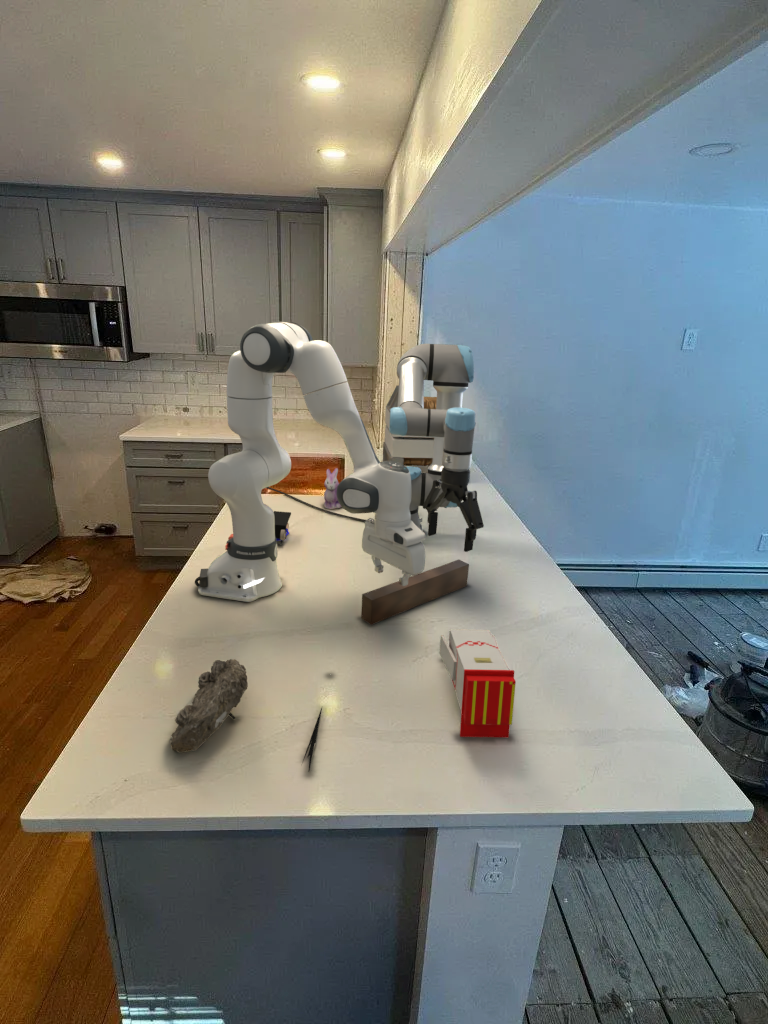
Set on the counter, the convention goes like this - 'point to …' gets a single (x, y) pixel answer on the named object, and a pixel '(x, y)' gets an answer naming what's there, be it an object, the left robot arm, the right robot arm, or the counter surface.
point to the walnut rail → (413, 591)
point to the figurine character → (281, 525)
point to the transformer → (407, 439)
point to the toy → (479, 682)
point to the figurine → (331, 490)
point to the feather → (313, 740)
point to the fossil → (210, 704)
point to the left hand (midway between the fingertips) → (391, 578)
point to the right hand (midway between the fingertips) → (449, 542)
